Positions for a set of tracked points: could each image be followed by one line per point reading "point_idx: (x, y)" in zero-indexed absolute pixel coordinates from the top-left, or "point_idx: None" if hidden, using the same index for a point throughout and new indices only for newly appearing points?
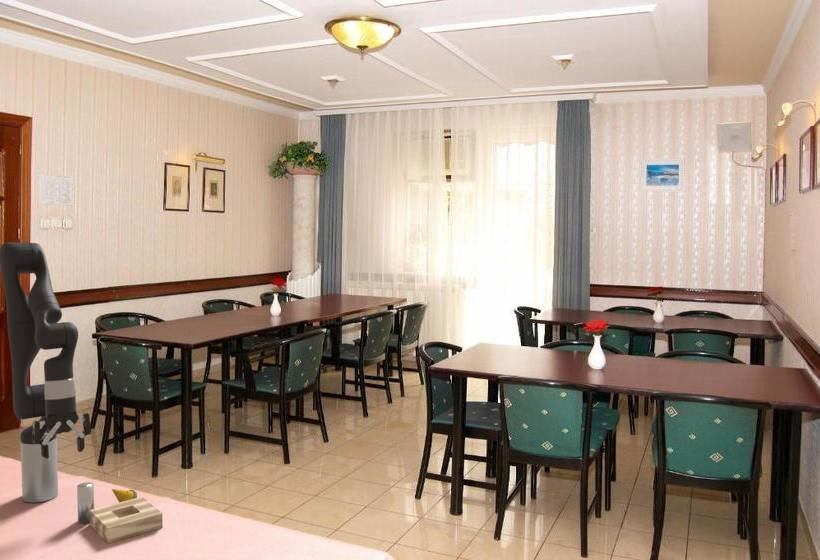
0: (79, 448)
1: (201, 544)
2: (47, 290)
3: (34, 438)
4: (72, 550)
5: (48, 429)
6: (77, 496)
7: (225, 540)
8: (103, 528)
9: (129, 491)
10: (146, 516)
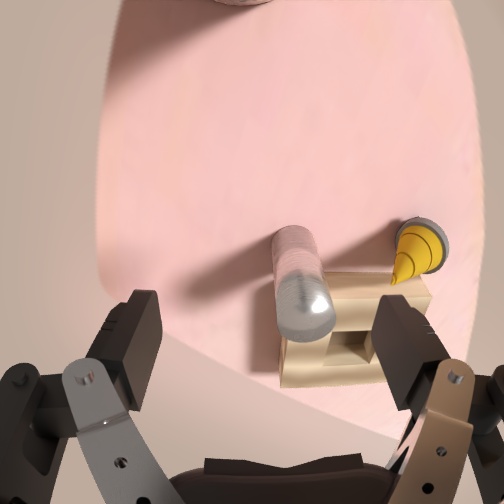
0: (378, 347)
1: (373, 411)
2: None
3: (24, 444)
4: (214, 350)
5: (114, 497)
6: (276, 292)
7: (398, 413)
8: (282, 363)
9: (433, 265)
10: (362, 381)
